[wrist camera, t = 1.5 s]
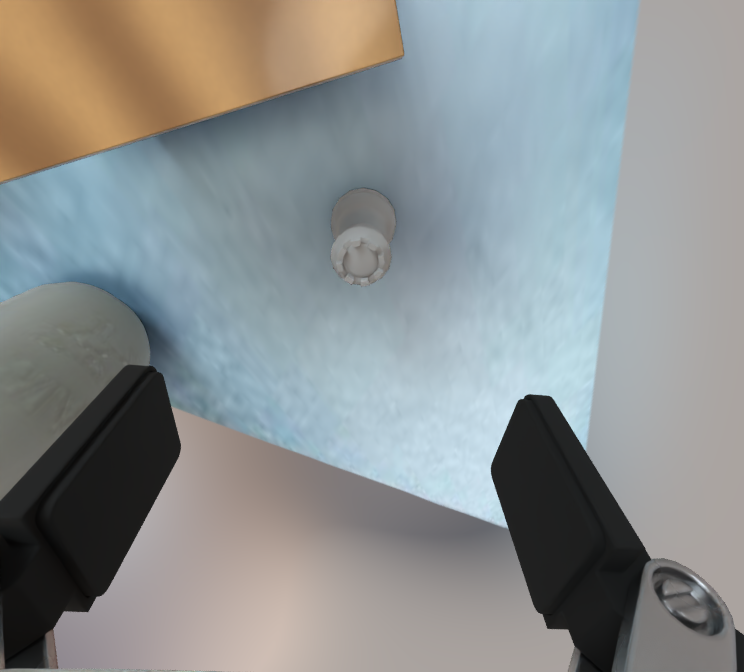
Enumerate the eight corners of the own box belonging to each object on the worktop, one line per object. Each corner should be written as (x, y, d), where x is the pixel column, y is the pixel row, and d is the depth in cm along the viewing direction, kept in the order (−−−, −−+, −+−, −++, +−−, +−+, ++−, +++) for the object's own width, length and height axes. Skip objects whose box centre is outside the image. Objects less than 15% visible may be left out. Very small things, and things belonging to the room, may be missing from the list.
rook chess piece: (364, 263, 27) (361, 317, 21) (318, 220, 26) (298, 264, 19) (409, 220, 26) (422, 264, 19) (363, 171, 24) (359, 200, 17)
